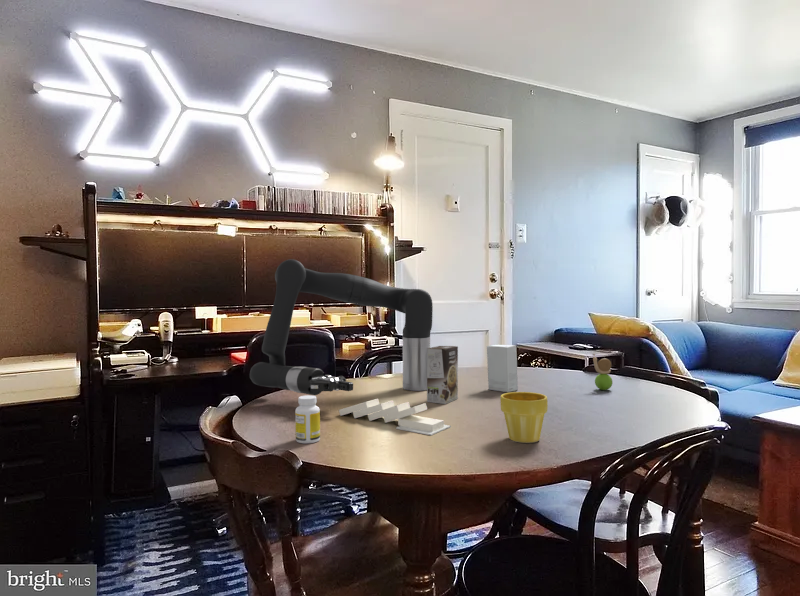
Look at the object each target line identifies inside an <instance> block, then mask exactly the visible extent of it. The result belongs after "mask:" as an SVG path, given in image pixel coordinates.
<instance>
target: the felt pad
mask: <svg viewBox="0 0 800 596" xmlns="http://www.w3.org/2000/svg"><path fill="white" fill-rule="evenodd" d="M451 427H452V426H451V425H447V424H444V427H443V428H440V429H438V430H436V431H433V432H432V431H426V430H421V429H416V428H410V427H405V426H399V425H398V426H396V427H395V429H396V430H399V431H400V430H401V431H406V432H411V433H415V434H421V435H428V436H433V435H435V434H438V433H440V432H442V431H444V430H448V429H450V428H451Z"/></svg>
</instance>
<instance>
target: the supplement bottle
mask: <svg viewBox="0 0 800 596" xmlns="http://www.w3.org/2000/svg"><path fill="white" fill-rule="evenodd" d="M297 401H298V402H297V403H298V406H297V407H296V408H295V411H294V412H295V413H294V414H295V441H296V442H297V443H299V444H314V443H318V442H319V441H320V440H321V415H320V414H321V409H320V407H319V406H317V405H316V404H317V395H310V394H305V395H301V396H298V399H297Z"/></svg>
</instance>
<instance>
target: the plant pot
mask: <svg viewBox="0 0 800 596" xmlns="http://www.w3.org/2000/svg"><path fill="white" fill-rule="evenodd" d="M499 398H500V411H501V412H502V413H503V415H504V420H505V424H506V429H507V435H508V438H509V440H511V441H513V442H515V443H521V444H522V443H523V444H532V443H536V442H539V441H540V439H541V433H542V428H543V423H544V417H545V415H546V413H548V407H549V406H548V396H547V395H545V394H542V393H539V392H533V391H532V392H531V391H511V392H504V393H503V394H500V397H499Z"/></svg>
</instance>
